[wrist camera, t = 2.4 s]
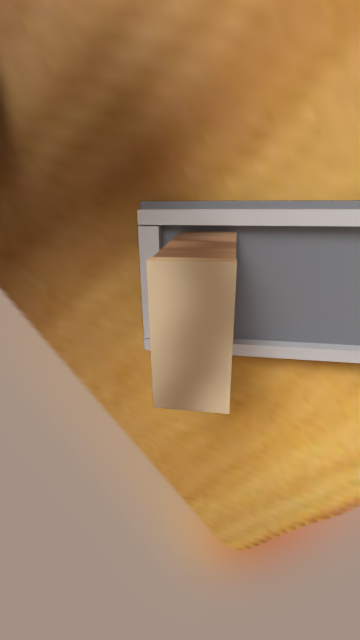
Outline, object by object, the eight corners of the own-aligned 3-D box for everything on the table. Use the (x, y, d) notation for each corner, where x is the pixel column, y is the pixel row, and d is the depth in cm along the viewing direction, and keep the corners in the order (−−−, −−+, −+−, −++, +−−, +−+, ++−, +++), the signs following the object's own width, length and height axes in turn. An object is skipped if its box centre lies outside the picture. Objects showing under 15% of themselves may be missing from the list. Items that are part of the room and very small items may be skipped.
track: (150, 344, 30) (145, 355, 29) (143, 200, 26) (136, 202, 24) (422, 360, 27) (436, 374, 25) (469, 199, 23) (489, 201, 21)
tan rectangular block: (181, 332, 28) (153, 407, 19) (180, 230, 25) (146, 260, 16) (232, 335, 28) (229, 414, 18) (237, 230, 24) (236, 262, 15)
